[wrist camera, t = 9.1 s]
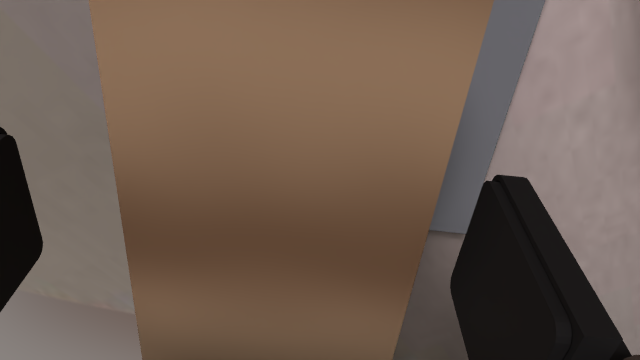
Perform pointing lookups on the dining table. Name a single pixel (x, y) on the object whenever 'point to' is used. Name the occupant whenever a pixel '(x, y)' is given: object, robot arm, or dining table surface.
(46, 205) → the dining table surface
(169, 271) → the footstool
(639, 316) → the dining table surface
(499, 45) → the mat
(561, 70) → the dining table surface
